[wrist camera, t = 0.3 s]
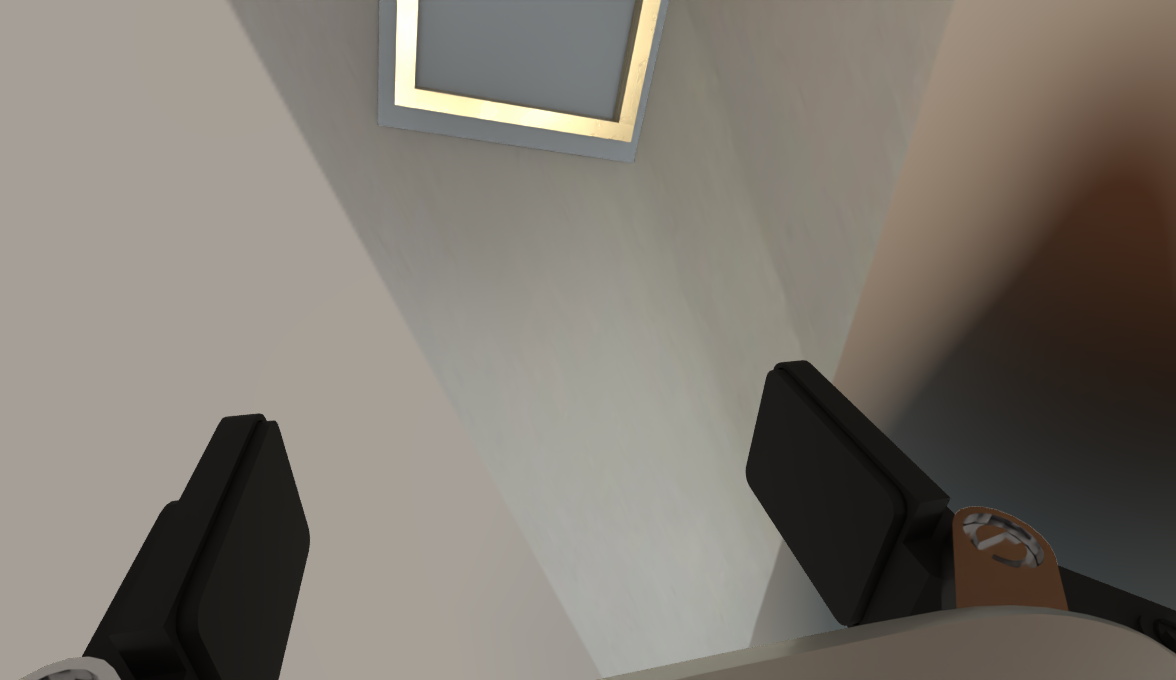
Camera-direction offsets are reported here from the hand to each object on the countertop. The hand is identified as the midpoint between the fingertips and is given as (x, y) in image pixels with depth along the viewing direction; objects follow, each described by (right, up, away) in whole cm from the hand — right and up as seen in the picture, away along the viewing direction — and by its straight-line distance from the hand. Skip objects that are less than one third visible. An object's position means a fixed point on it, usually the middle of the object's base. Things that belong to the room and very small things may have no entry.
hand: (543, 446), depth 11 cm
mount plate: (-3, +20, +23) cm, 30 cm away
